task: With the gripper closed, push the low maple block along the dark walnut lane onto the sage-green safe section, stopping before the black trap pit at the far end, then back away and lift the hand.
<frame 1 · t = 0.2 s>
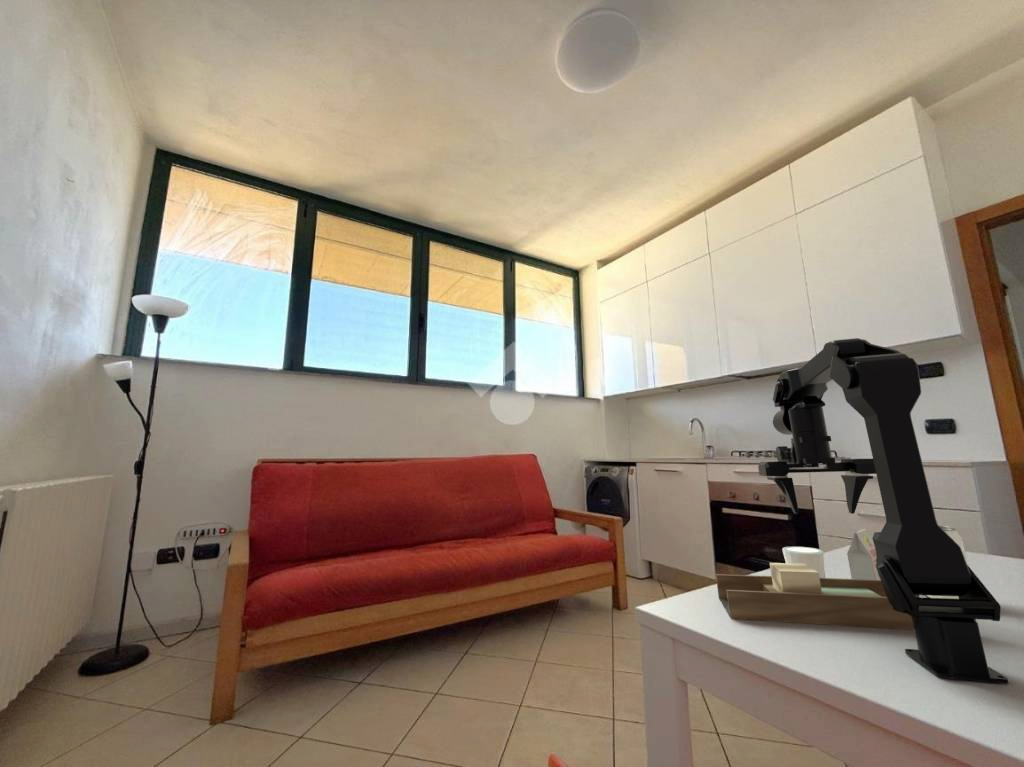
hand: (823, 513, 78), 14 cm above the table, tool pointing down, fingers open, 9 cm apart
maple block: (796, 592, 69), point 3 cm above the table, touching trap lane
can: (949, 600, 71), on the table
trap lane: (825, 613, 67), on the table
white cup: (808, 587, 80), on the table
white gable top carton: (870, 584, 81), on the table
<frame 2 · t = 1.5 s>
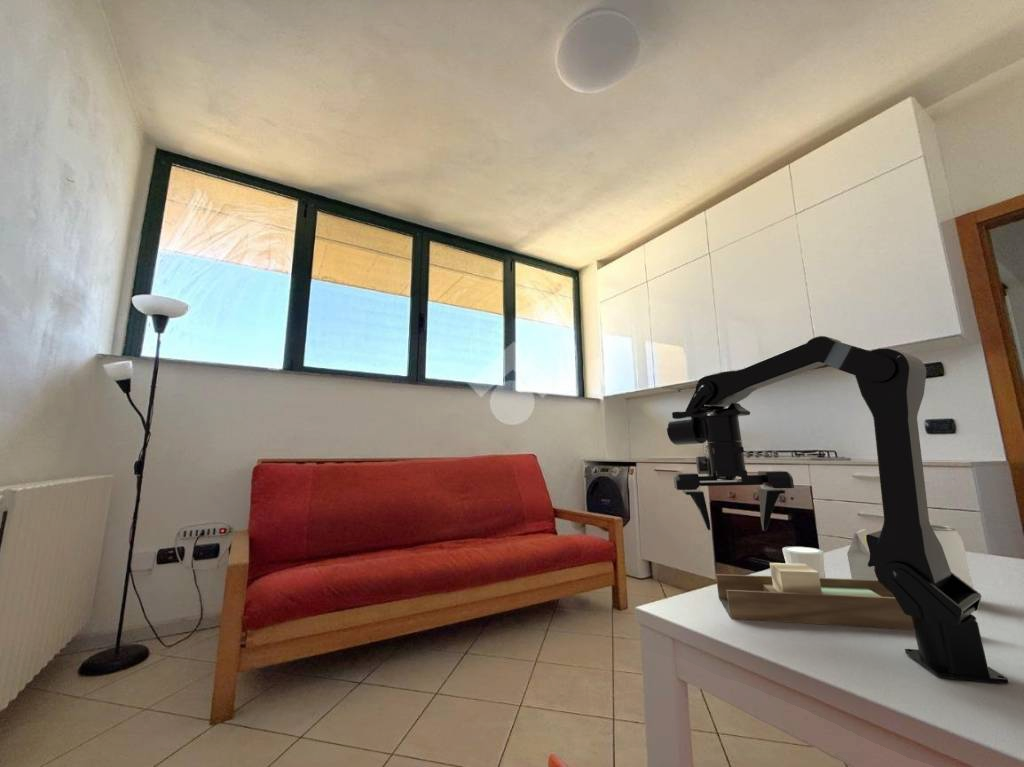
hand: (736, 530, 73), 13 cm above the table, tool pointing down, fingers open, 9 cm apart
nothing on the table moved.
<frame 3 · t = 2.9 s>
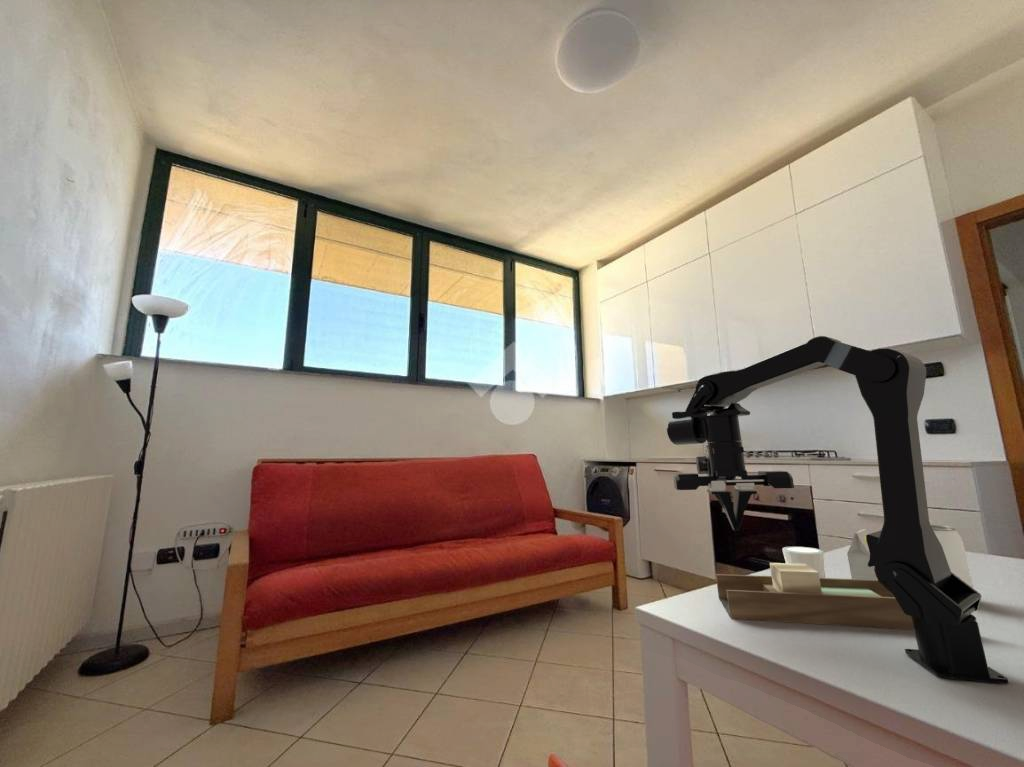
hand: (736, 530, 73), 13 cm above the table, tool pointing down, fingers closed
nothing on the table moved.
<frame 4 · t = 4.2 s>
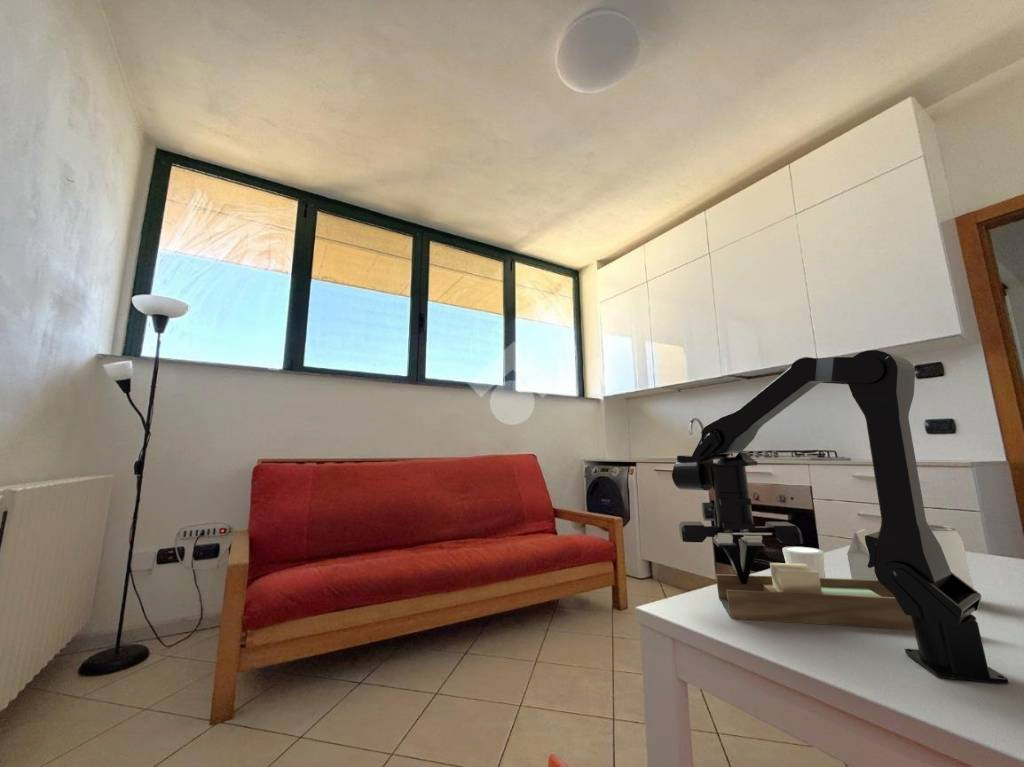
hand: (743, 583, 71), 4 cm above the table, tool pointing down, fingers closed
nothing on the table moved.
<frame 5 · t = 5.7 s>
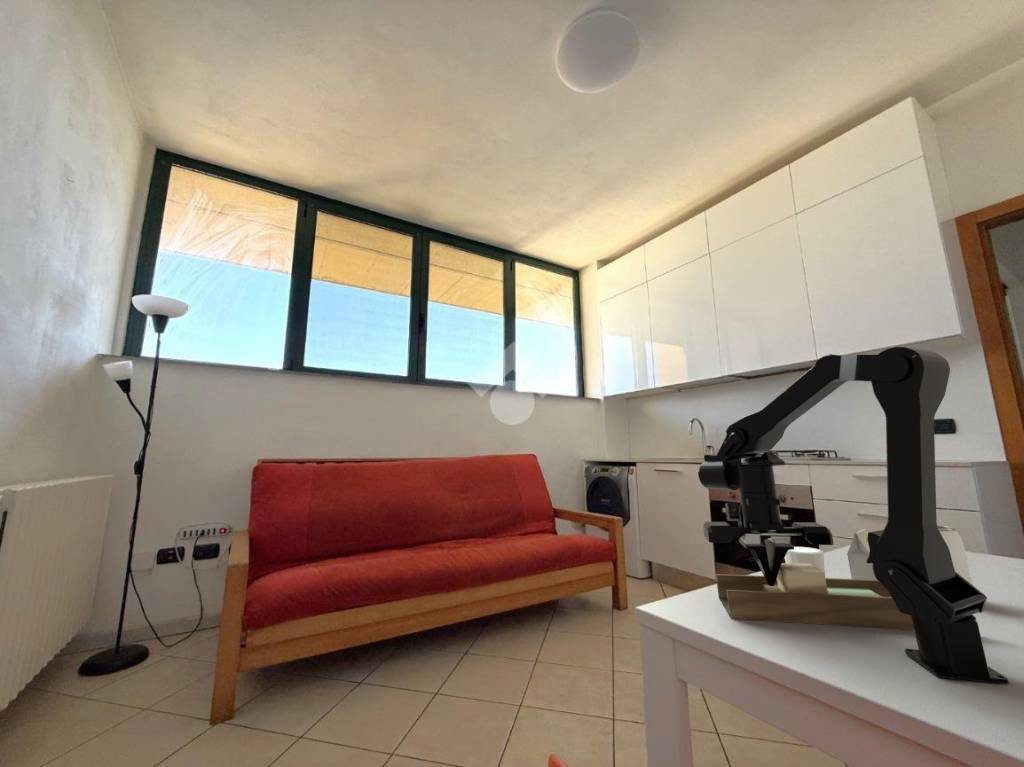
hand: (771, 585, 70), 4 cm above the table, tool pointing down, fingers closed
maple block: (802, 592, 68), point 3 cm above the table, touching gripper, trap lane
everything else where it was.
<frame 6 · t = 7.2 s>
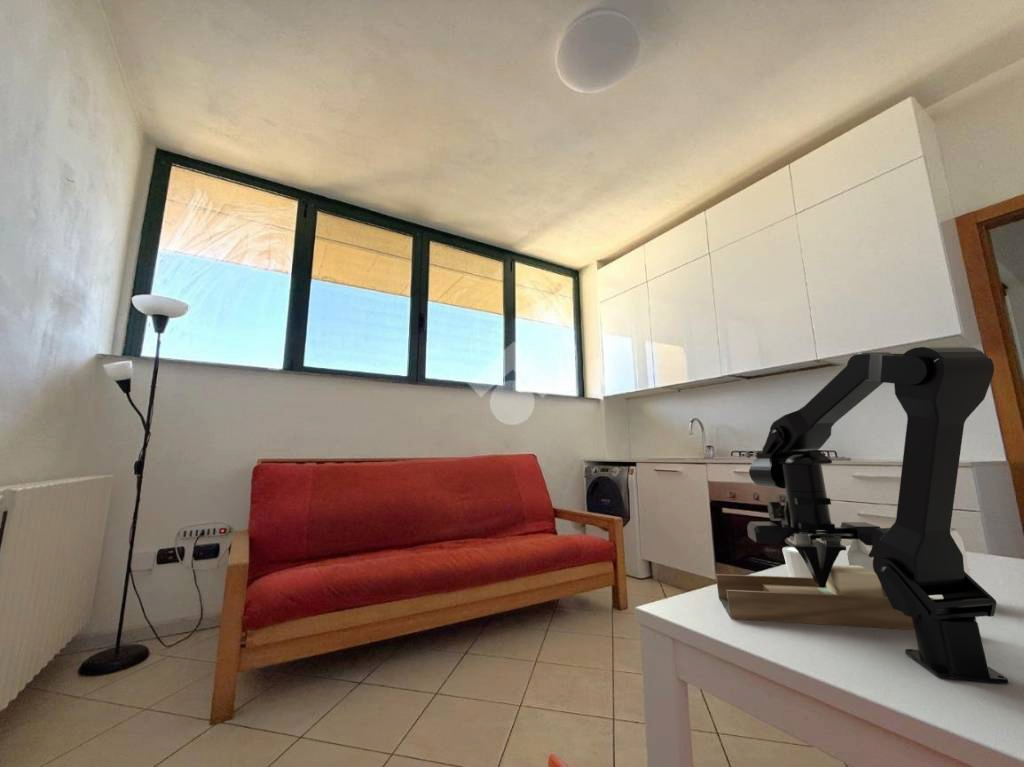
hand: (820, 586, 68), 4 cm above the table, tool pointing down, fingers closed
maple block: (854, 595, 66), point 3 cm above the table, touching gripper
everything else where it was.
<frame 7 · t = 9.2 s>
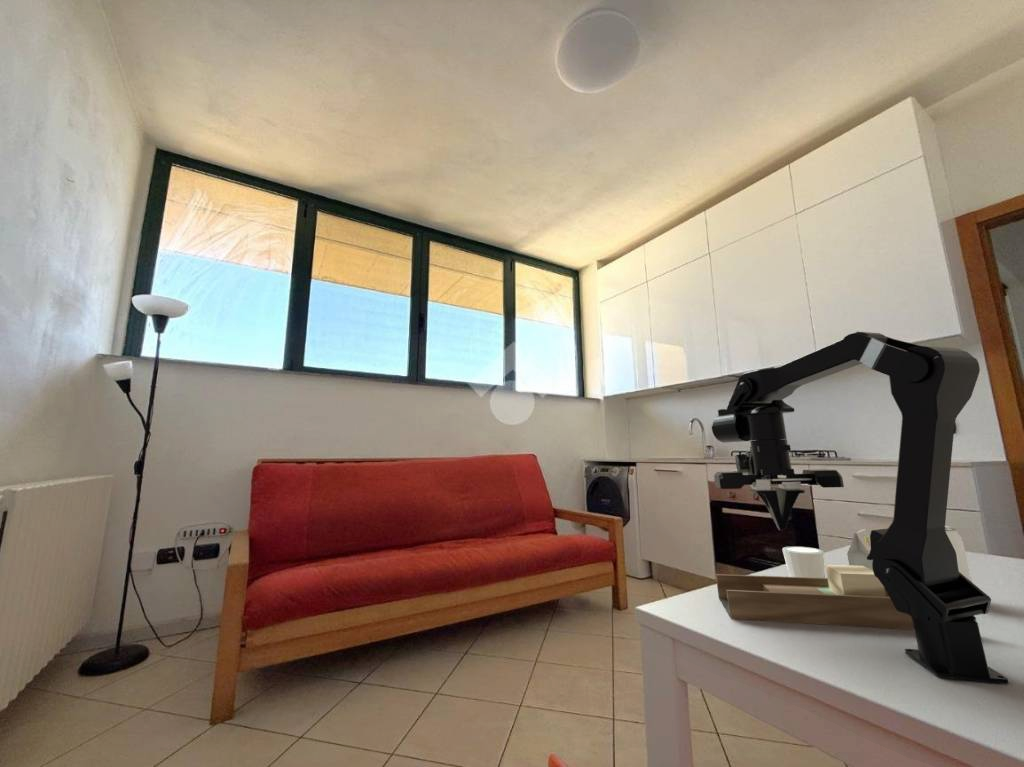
hand: (781, 529, 71), 13 cm above the table, tool pointing down, fingers closed
maple block: (856, 595, 66), point 3 cm above the table, touching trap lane
everything else where it was.
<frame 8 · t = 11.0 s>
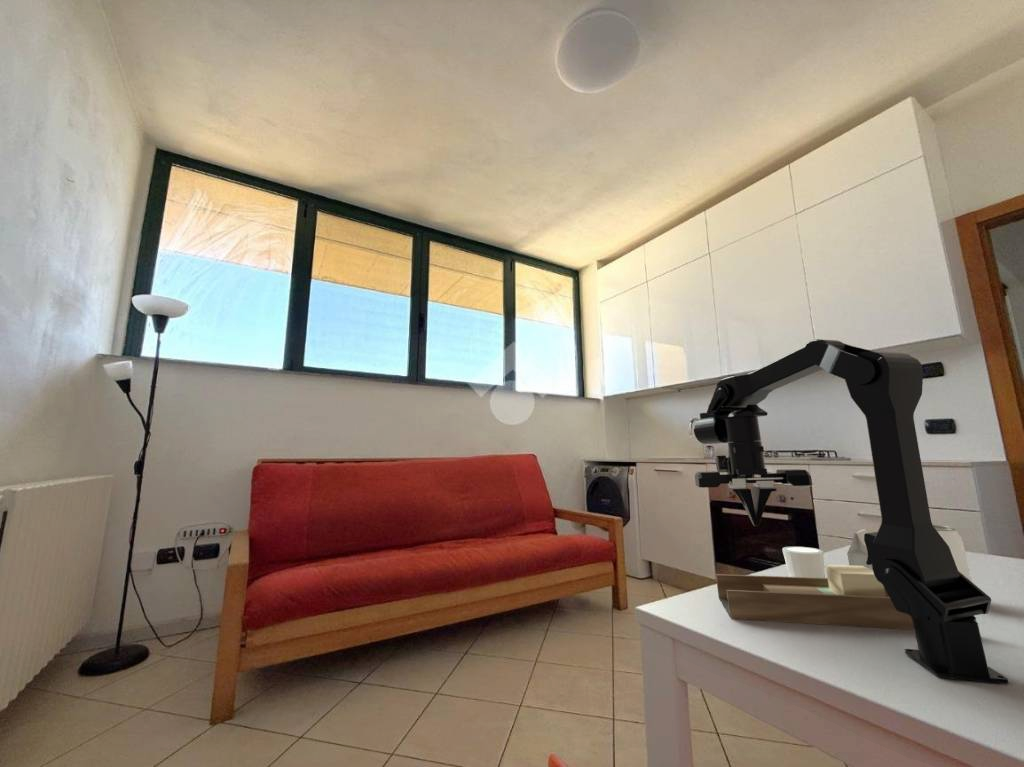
hand: (756, 525, 76), 13 cm above the table, tool pointing down, fingers closed
nothing on the table moved.
at the end: maple block 1.0 cm from the target spot, point 2.9 cm above the table; maple block tilted 0°; the gripper is holding nothing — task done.
